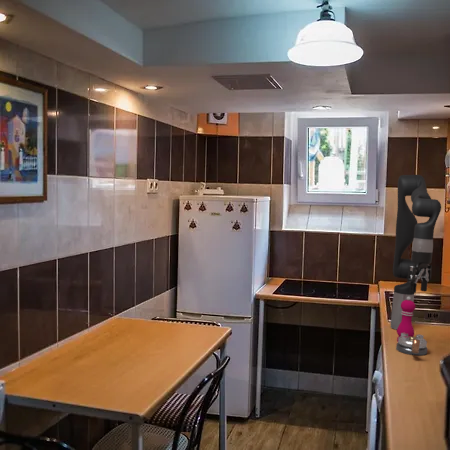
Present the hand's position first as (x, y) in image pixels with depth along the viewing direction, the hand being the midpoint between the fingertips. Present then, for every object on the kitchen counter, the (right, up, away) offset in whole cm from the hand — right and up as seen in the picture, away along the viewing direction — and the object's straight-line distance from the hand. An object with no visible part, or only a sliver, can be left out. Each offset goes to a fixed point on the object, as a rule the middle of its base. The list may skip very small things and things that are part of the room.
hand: (418, 291), depth 214 cm
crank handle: (0, -24, +7) cm, 24 cm away
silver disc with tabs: (+1, -25, +11) cm, 28 cm away
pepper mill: (+2, -25, +24) cm, 34 cm away
